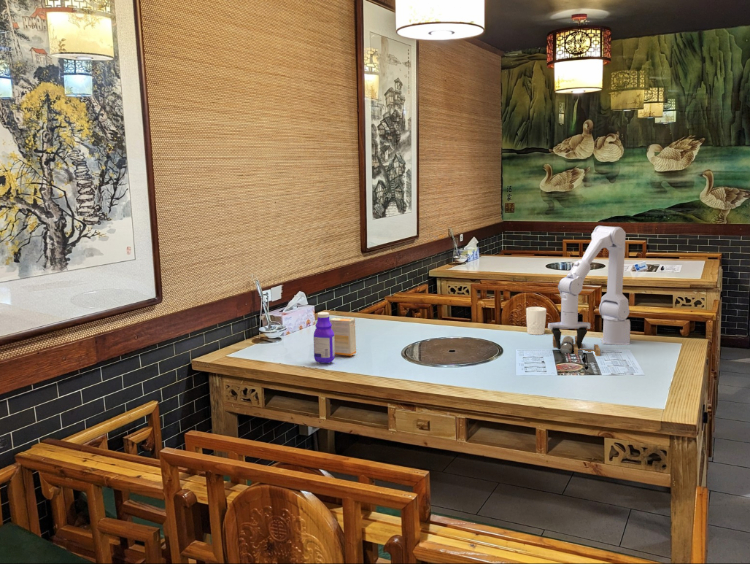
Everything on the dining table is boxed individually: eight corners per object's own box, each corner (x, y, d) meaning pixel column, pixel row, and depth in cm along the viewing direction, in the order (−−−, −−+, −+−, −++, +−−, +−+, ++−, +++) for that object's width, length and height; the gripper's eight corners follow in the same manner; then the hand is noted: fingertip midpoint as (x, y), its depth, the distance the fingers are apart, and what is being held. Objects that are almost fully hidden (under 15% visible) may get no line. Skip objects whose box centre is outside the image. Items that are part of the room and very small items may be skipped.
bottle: (337, 359, 238) (335, 311, 235) (331, 364, 233) (329, 315, 230) (318, 358, 240) (316, 310, 238) (311, 362, 235) (310, 314, 232)
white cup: (547, 335, 267) (548, 310, 265) (527, 335, 267) (528, 310, 265) (543, 330, 275) (543, 306, 273) (524, 330, 275) (524, 306, 273)
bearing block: (580, 344, 251) (580, 336, 251) (581, 349, 245) (582, 340, 244) (552, 343, 254) (552, 335, 253) (553, 348, 247) (553, 339, 246)
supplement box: (356, 352, 247) (355, 318, 245) (350, 356, 242) (349, 320, 240) (337, 350, 250) (335, 316, 248) (330, 354, 246) (329, 319, 244)
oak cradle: (597, 351, 242) (597, 344, 241) (600, 357, 233) (600, 350, 232) (572, 350, 243) (572, 343, 243) (574, 356, 235) (574, 349, 234)
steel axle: (565, 348, 250) (560, 338, 250) (575, 344, 248) (571, 334, 248) (562, 356, 238) (558, 346, 238) (573, 352, 237) (569, 342, 237)
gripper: (586, 308, 242) (585, 345, 244) (546, 309, 242) (545, 346, 245) (592, 312, 235) (591, 350, 238) (551, 313, 235) (550, 351, 238)
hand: (568, 348), depth 241 cm, fingers open, 6 cm apart
